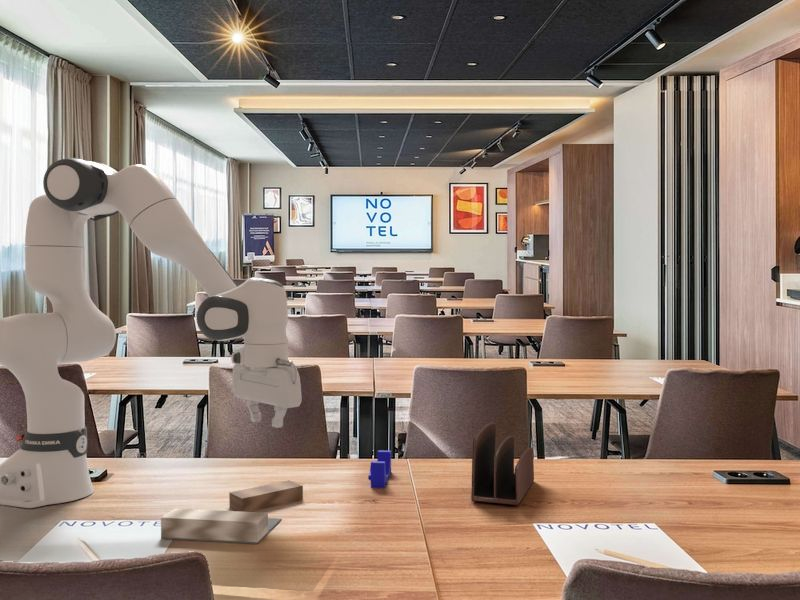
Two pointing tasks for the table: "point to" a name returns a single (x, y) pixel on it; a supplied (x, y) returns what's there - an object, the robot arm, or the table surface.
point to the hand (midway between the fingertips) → (266, 424)
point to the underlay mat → (271, 524)
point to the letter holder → (499, 469)
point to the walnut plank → (265, 496)
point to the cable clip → (380, 469)
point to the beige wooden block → (214, 525)
